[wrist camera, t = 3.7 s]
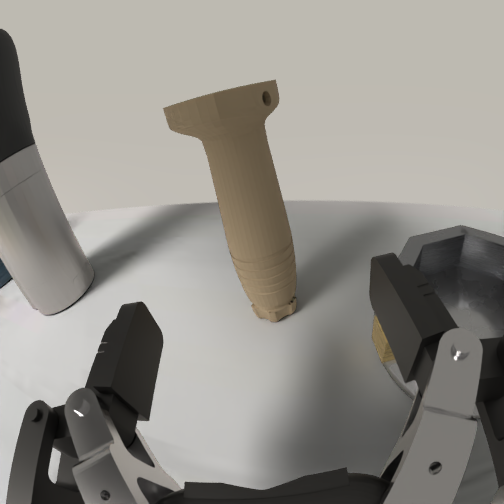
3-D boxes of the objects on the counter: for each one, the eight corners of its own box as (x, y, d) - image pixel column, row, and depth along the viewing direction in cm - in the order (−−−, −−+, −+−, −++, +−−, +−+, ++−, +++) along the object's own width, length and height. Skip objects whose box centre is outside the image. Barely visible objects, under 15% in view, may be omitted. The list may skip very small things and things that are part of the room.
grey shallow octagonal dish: (410, 461, 9) (432, 440, 7) (345, 281, 21) (343, 242, 20) (572, 356, 8) (596, 321, 6) (484, 244, 20) (491, 210, 18)
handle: (323, 286, 22) (292, 77, 14) (284, 350, 18) (219, 92, 9) (269, 274, 24) (224, 89, 16) (225, 329, 20) (145, 114, 12)
